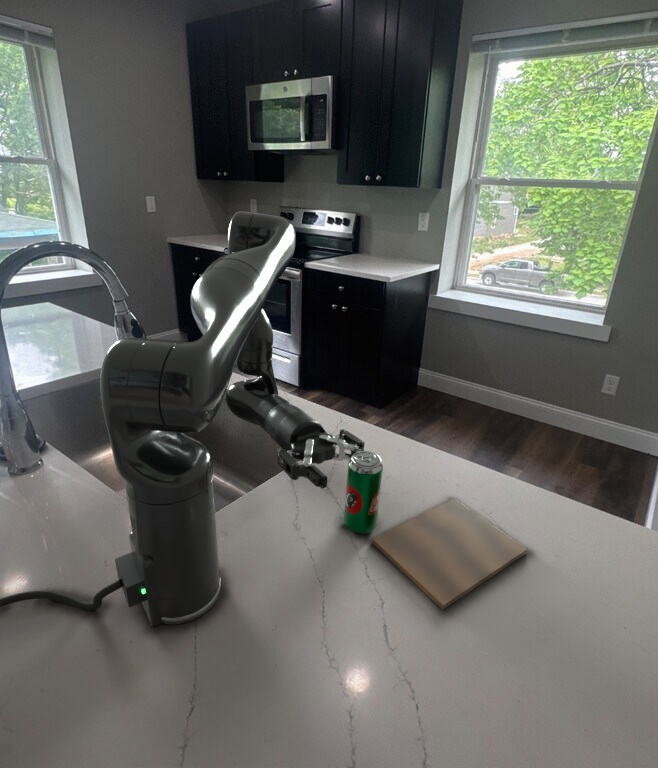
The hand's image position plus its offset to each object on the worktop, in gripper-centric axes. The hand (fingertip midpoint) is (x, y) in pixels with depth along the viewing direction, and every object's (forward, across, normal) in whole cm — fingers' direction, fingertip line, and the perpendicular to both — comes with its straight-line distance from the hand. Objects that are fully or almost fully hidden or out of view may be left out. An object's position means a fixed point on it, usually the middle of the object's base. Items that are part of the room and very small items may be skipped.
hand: (348, 474), depth 72 cm
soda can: (+4, 0, +7) cm, 8 cm away
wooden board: (+15, +8, +7) cm, 18 cm away
